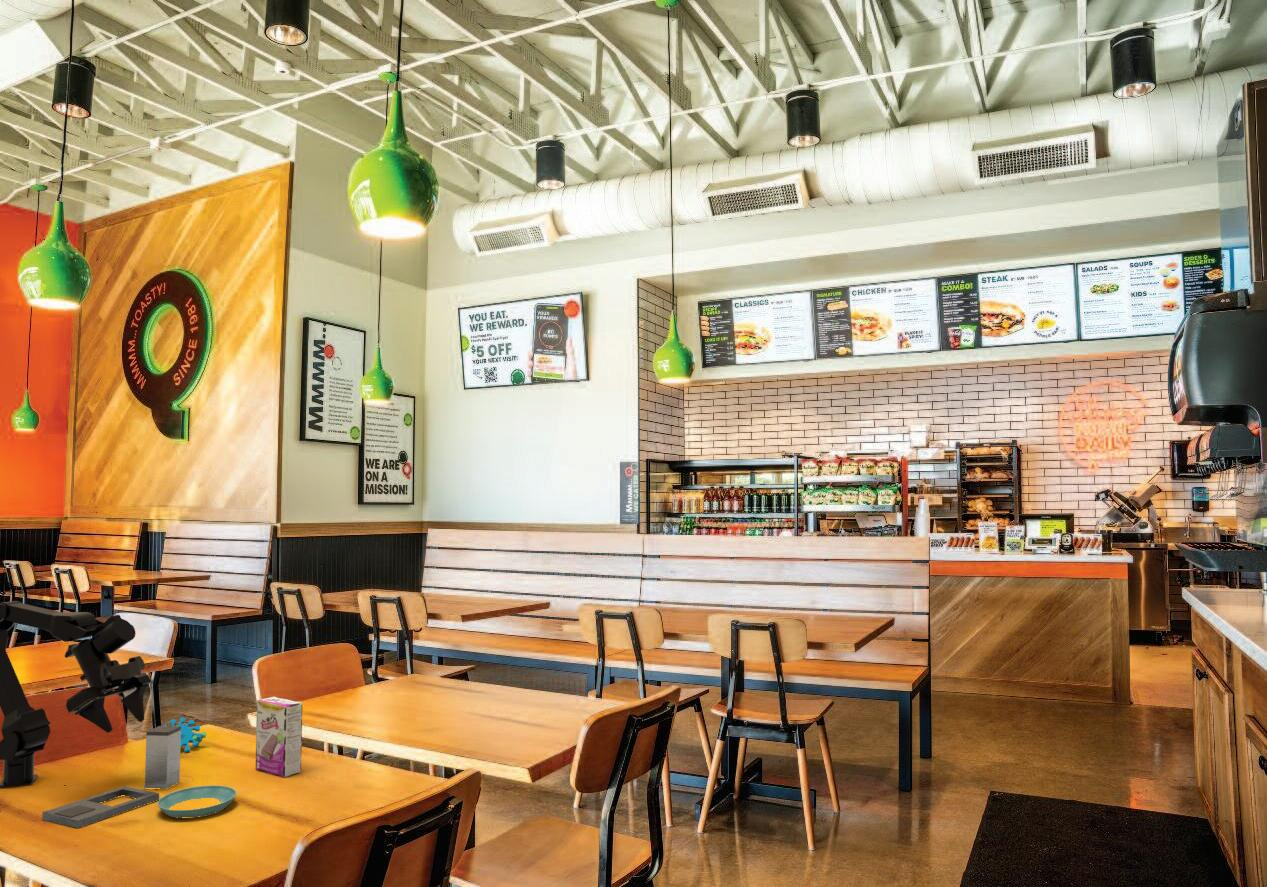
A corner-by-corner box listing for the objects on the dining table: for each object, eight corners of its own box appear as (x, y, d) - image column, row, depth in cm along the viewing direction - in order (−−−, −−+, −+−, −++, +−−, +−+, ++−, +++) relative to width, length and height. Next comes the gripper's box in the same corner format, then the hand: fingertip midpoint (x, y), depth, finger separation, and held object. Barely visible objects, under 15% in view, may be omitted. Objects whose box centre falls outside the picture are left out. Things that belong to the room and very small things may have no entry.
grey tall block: (144, 789, 195) (146, 731, 196) (157, 782, 200) (159, 725, 201) (166, 789, 195) (168, 732, 196) (179, 782, 200) (181, 726, 201)
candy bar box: (253, 770, 209) (255, 699, 210) (272, 765, 213) (274, 695, 214) (283, 778, 203) (285, 705, 204) (302, 772, 207) (303, 701, 208)
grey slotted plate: (42, 819, 177) (42, 811, 177) (124, 793, 193) (124, 785, 193) (77, 828, 172) (78, 820, 172) (159, 800, 188) (159, 792, 188)
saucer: (139, 817, 179) (140, 804, 179) (198, 794, 193) (198, 782, 193) (195, 827, 174) (196, 813, 174) (252, 802, 188) (252, 790, 188)
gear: (154, 750, 219) (161, 715, 226) (152, 763, 222) (159, 728, 229) (203, 751, 223) (209, 716, 230) (200, 764, 226) (206, 729, 234)
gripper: (89, 652, 187) (121, 718, 185) (153, 639, 205) (183, 698, 203) (50, 680, 189) (82, 745, 186) (117, 663, 207) (147, 722, 204)
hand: (126, 726), depth 195 cm, fingers open, 9 cm apart
